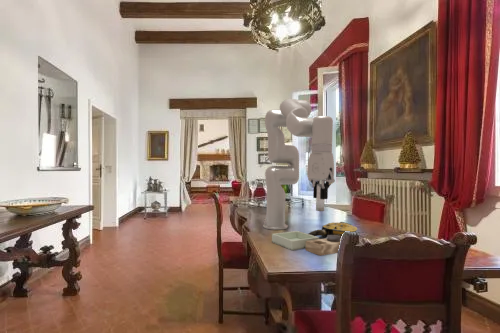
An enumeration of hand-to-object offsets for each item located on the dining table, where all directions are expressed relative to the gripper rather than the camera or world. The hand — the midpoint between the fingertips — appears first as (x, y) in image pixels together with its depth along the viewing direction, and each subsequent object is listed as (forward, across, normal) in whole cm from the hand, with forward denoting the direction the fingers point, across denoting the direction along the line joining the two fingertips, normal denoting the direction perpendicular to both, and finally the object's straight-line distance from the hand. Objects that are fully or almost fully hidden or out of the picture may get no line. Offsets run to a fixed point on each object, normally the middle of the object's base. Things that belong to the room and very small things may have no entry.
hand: (320, 198), depth 118 cm
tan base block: (+20, +1, +3) cm, 20 cm away
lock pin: (+5, 0, 0) cm, 5 cm away
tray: (+20, -12, -2) cm, 24 cm away
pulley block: (+21, -17, +24) cm, 36 cm away
